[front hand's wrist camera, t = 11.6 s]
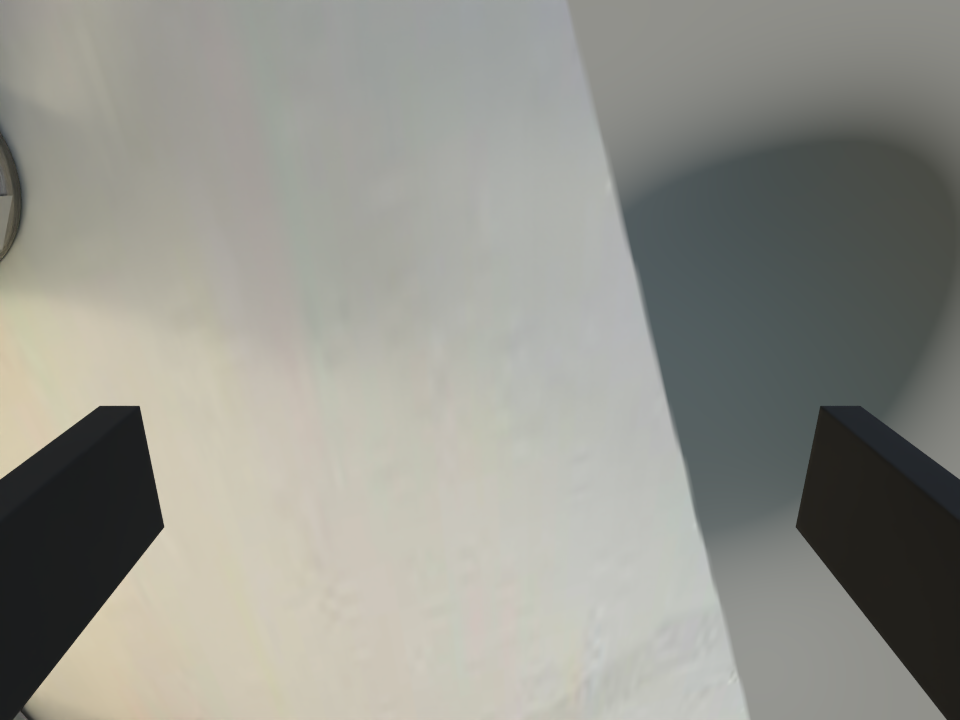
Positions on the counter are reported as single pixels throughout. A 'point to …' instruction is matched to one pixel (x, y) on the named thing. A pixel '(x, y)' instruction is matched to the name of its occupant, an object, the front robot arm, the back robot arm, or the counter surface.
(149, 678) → the counter surface
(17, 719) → the file storage bin
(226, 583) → the counter surface
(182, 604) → the counter surface
